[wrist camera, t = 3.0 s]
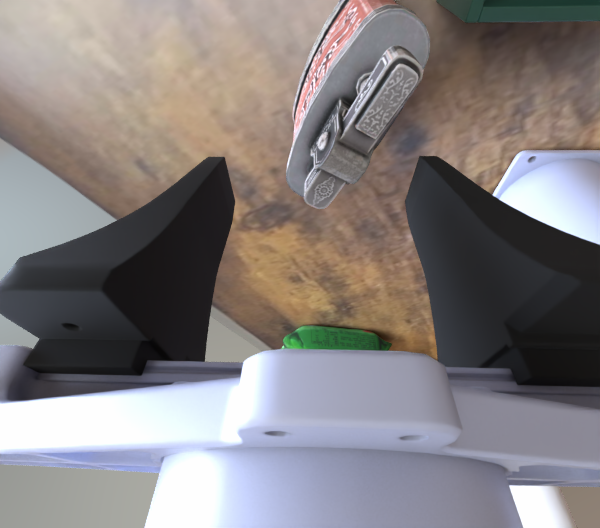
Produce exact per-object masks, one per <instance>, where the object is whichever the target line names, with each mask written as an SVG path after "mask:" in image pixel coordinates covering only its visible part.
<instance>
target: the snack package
mask: <svg viewBox="0 0 600 528" xmlns="http://www.w3.org/2000/svg"><path fill="white" fill-rule="evenodd" d="M283 343H284V346H283V347H282V349H325V350H372V351H388V350H389V349H390V347H391V345H392V344H391V343H389V342H386V341H384V340H383V339H381V338H380V337H379V336H377V335H376V334H375V333H373V332H370V331H366V330H357V329H345V328H336V327H326V326H313V325H307V326H301V327H300V328H299V329H297V330H296V331H294V332H293V333H291V334H288V335H287V336H286V337H285V338H284V339H283Z"/></svg>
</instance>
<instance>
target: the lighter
mask: <svg viewBox="0 0 600 528" xmlns="http://www.w3.org/2000/svg"><path fill="white" fill-rule="evenodd" d="M429 54H430V38H429V35H428V32H427V29H426V26H425V25H424V24H423V22H422V21H421V20H420V19H419V18H418V16H417V15H416V14H415V13H414V12H413V11H412V10H410V9H408V8H406V7H404V6H401V5H397V4H396V3H395V1H394V0H340V1H339V3H338V4H337V6H336V7H335V9H334V10H333V12H332V13H331V15H330V16H329V18H328V19H327V21H326V23H325V25H324V27H323V29H322V31H321V33H320V34H319V36H318V38H317V40H316V42H315V44H314V46H313V48H312V50H311V52H310V55H309V57H308V60H307V63H306V65H305V68H304V71H303V73H302V76H301V79H300V82H299V86H298V90H297V94H296V98H295V101H294V105H293V117H292V118H293V121H294V125H295V128H294V139H293V145H292V149H291V152H290V156H289V159H288V163H287V171H286V180H287V182H288V185H289V187H290V188H291V189H292V190H293V191H294V192H295V193H297V194H298V195H300V196H302V197H304V201H305V202H306V203H307V204H308V205H310V206H312V207H315V208H318V209H324V208H326V207H327V206H328V205H329V204H330V203H331V202H332V201H333V199H334V198H335V197H336V195H337V194H338V193H339V191H340V190H341V189H342V187H343V186H344V185H345V183H346V184H350V183H352V184H355V183H356V182H357V181H358V180H359V179H360V178H361V176H362V175H363V174H364V173H365V171H366V169H367V167H368V165H369V162H370V158H371V155H372V153H373V151H374V150H375V148H376V147H377V146H378V145H379V143H380V142H381V140H382V139H383V137H384V136H385V134H386V133H387V131H388V130H389V128H390V127H391V125H392V124H393V122H394V121H395V119H396V118H397V116H398V115H399V113H400V112H401V110H402V109H403V107H404V105H405V103H406V101H407V100H408V99H409V97H410V96H411V95H412V93H413V92H414V91H415V89H416V88H417V87H418V85H419V83H420V82H421V80H422V76H423V69H424V68H425V65H426V62H427V59H428V57H429Z"/></svg>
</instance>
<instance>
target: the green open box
mask: <svg viewBox="0 0 600 528" xmlns="http://www.w3.org/2000/svg"><path fill="white" fill-rule="evenodd" d="M437 3H439V4H440V5H442V6H443V7H444V8H446V9H447V10H449V11H450V12H451V13H453V14H454V15H456V16H457V17H458V18H460V19H461V20H463V21H464V22H465V23H476V22H478V23H497V22H575V21H600V0H437Z"/></svg>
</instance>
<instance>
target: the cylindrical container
mask: <svg viewBox="0 0 600 528" xmlns="http://www.w3.org/2000/svg"><path fill="white" fill-rule="evenodd" d="M509 487H510V490H511V493H512V496H513V499H514V502H515V505H516V507H517V510H518V513H519V516H520V519H521V522H522V525H523V528H577V526H576V524H575V521H574V519H573V517H572V514H571V512H570V510H569V507H568V505H567V503H566V500H565V498H564V496H563V494H562V491H561V489H560V486H509Z"/></svg>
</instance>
